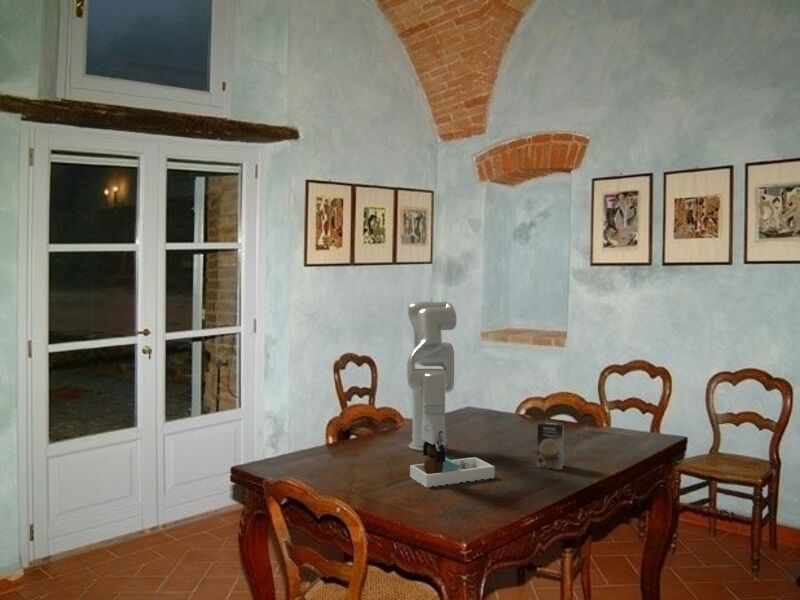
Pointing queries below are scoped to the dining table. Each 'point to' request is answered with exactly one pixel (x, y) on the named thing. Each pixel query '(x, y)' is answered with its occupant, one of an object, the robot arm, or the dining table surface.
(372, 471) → the dining table surface
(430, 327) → the robot arm
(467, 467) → the pusher paddle
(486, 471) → the lane
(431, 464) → the wooden figurine
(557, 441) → the coffee box
